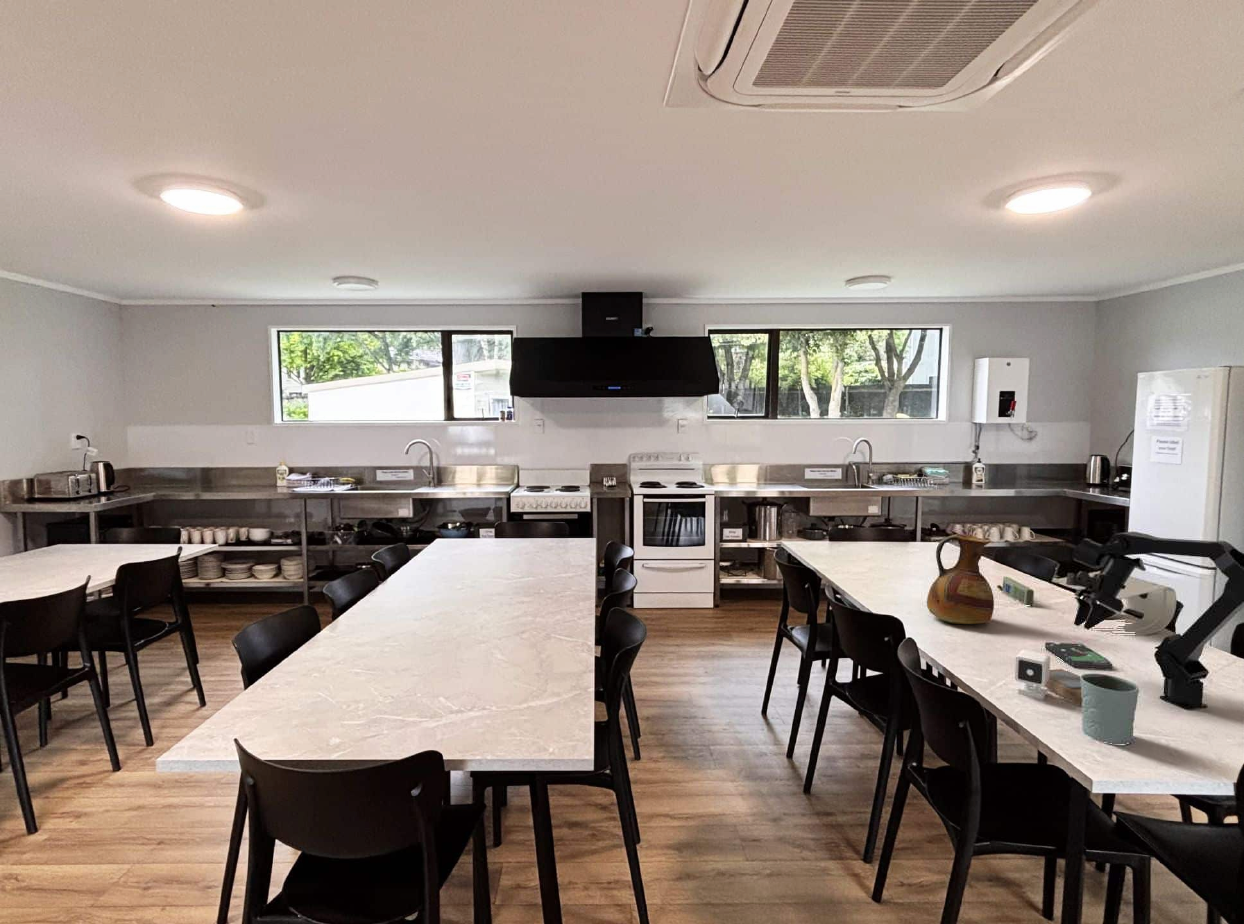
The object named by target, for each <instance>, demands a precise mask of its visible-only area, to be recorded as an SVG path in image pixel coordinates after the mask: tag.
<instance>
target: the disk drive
mask: <svg viewBox="0 0 1244 924" xmlns="http://www.w3.org/2000/svg"><path fill="white" fill-rule="evenodd" d="M1045 648H1046V651H1047V650H1048V651H1049V652H1048V651H1047V652H1048V653H1050V652H1051V653H1052V654H1051V653H1050V654H1051V655H1053V654H1054V655H1055V657H1056V656H1057V657H1059V658H1060V659H1062V660H1063V661H1064V662H1063V661H1062V660H1061V661H1062V662H1063V663H1064V664H1066V663H1067V664H1068V665H1067V664H1066V665H1067V666H1069V665H1070V666H1069V667H1071V666H1072V667H1074V668H1073V669H1086V668H1094V669H1093V670H1106V669H1108V670H1109V669H1110V671H1113V663H1111V660H1110V659H1108V658H1106V657H1105V656H1102V655H1101V654H1099V653H1098V652H1096V651H1094V650H1093V649H1091V648H1089V647H1088V646H1086V645H1084V644H1083V643H1070V642H1069V643H1068V642H1060V643H1055V642H1049V641H1048V642H1047V641H1046V642H1045V643H1044V649H1045ZM1054 655H1053V656H1054ZM1057 657H1056V658H1057ZM1059 658H1058V659H1059ZM1060 659H1059V660H1060ZM1072 667H1071V668H1072Z"/></svg>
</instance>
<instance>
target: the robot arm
mask: <svg viewBox="0 0 1244 924" xmlns="http://www.w3.org/2000/svg"><path fill="white" fill-rule="evenodd" d="M1113 553H1114V554H1113ZM1115 554H1116V555H1115ZM1147 554H1160V555H1171V556H1183V557H1194V558H1195V557H1197V558H1207V559H1208V558H1209V559H1210V560H1211V561H1212V562H1213V563H1214V564H1215V565H1216V567H1217V568H1218V570H1219V571H1220V572H1221V573H1222V574H1223V575H1224V576H1225V577H1226V578H1227V580H1226V582H1225V583H1224V587H1223V591H1222V594H1221V595H1220V596H1219V597H1218V598H1217V599H1216V600H1215V601H1214V602H1213V603H1212V604H1211V605H1210V606H1209V607H1208V609H1206V610H1205V611H1204V612H1203V613H1202V615H1200V616H1199V617H1198V618H1197V619H1196V620H1195V621H1194V622H1193V623H1192V624H1191V626H1190V627H1188V628H1187V630H1185V632H1184V633H1183V634H1180V633H1175V634H1172V635H1169V636H1165V637H1164V638H1163V640H1162V641H1161V643H1160V644H1159V645H1156V646H1155V647H1154V649H1156V651H1154V656H1153V657H1154V659H1155V661H1156V663H1157V665H1158V666H1159V669H1160V671H1161V674H1162V677H1163V695H1159V699H1161V700H1163V701H1166V702H1168V703H1171V704H1173V705H1175V706H1177V707H1180V708H1182V709H1185V710H1192V709H1194V710H1195V709H1203V708H1208V705H1207V703H1204V702H1203V697H1204V681H1201V680H1205V679H1206V678H1207V676H1208V675H1209V673H1210V672H1209V669H1208V668H1206V667H1205V666H1204V664H1203V663H1202V662H1201V661H1200V657H1201V656H1202V654H1203V650H1204V647H1205V645H1206V644H1208V642H1209V641H1210V640H1211V639H1212V638H1214V636H1215V635H1216V634H1217V633H1218V632H1219V631H1221V630H1222V629H1223V628H1224V627H1225V625H1227V624H1228V623H1229V621H1230V620H1232V619H1233V618H1234V617H1235V615H1237V614H1238V613H1239V612H1240V611H1241V610H1242V609H1243V608H1244V552H1242V551H1240V550H1238V549H1237V548H1236V547H1235V546H1233V545H1232V544H1231V543H1229V542H1228V541H1225V540H1217V541H1216V540H1215V541H1212V540H1201V539H1200V540H1198V539H1183V538H1169V537H1168V538H1166V537H1157V536H1154V535H1151V534H1148V533H1144V532H1143V533H1142V532H1137V531H1126V532H1125V531H1124V532H1118V533H1117V532H1116V533H1115V534H1113V535H1112V536H1110V539H1109V541H1107V542H1105V543H1104V544H1102V543H1098V542H1096V541H1094V540H1092V539H1090V538H1086V537H1085V538H1082V539H1081V542H1079V543H1078V544H1077V545H1076V547H1075V548H1074V549H1073V550H1072V553H1071V556H1072V560H1073V561H1075V562H1078V563H1080V564H1083V565H1085V566H1088V567H1090V568H1092V569H1094V570H1095V569H1096V570H1099V569H1100V568H1101V569H1100V570H1099V571H1100V573H1099V574H1094V576H1093V577H1090V576H1089V573H1090V572H1087V571H1081V570H1080V571H1079V572H1077V573H1071V572H1067V576H1066V577H1067V581H1066V584H1067V585H1073V586H1081V587H1085V589H1084V588H1082V589H1078V590H1076V592H1075V593H1074V599H1075V601H1076V603H1077V610H1076V612H1077V614H1076V617H1075V621H1074V623H1073V624H1074V625H1075V626H1077V627H1080V626H1081V624H1082V623H1084V622H1085V621H1086V622H1085V624H1084V627H1083V628H1084V629H1086V630H1091V629H1090V628H1092V627H1094V626H1095V625H1097V624H1099V623H1100V622H1102V621H1104V620H1106V619H1110V618H1109V617H1111V616H1113V615H1116V614H1117V613H1116V612H1121V610H1122V609H1123V607H1124V605H1123V602H1122V601H1121V600H1119V599H1117V598H1116V597H1117V595H1118V593H1119V592H1120V590H1121V589H1125V587H1126V586H1125V585H1124V584H1125V583H1126V581H1127V579H1128V578H1129V576H1131V575H1132V573H1133V572H1134V571H1135V569H1138V570H1140V571H1142V572H1146V570H1147V568H1146V567H1145V565H1144V563H1143V560H1142V558H1140V557H1136V558H1132V557H1130V556H1131V555H1132V556H1133V555H1134V556H1135V555H1147ZM1114 611H1116V612H1114ZM1116 616H1117V615H1116ZM1111 618H1112V617H1111Z"/></svg>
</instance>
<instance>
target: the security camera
mask: <svg viewBox="0 0 1244 924" xmlns="http://www.w3.org/2000/svg"><path fill="white" fill-rule="evenodd" d="M1014 665H1015V666H1014V668H1015V669H1014V679H1015V681H1016V682H1019V683H1020V684H1019V686H1018V688H1017V694H1018V693H1019V694H1018V695H1023V696H1026V695H1028V697H1030V696H1031V697H1030V698H1034V697H1036V698H1035V699H1038V698H1040V699H1039V700H1042V699H1043V700H1044V699H1045V698H1046V696H1047V694H1048V691H1047V688H1045V687H1044V686H1045V684H1046V683H1047V681H1048V679H1049V674H1050V670H1051V668H1050V667H1051V657H1050V655H1049V654H1045V653H1039V652H1035V651H1031V650H1026V649H1022V650H1021V651H1020V652H1019V653H1018V654H1017V656H1016V657H1015V664H1014ZM1020 693H1021V694H1020ZM1046 693H1047V694H1046ZM1045 695H1046V696H1045ZM1044 697H1045V698H1044Z"/></svg>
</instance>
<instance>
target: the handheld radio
mask: <svg viewBox="0 0 1244 924" xmlns="http://www.w3.org/2000/svg"><path fill="white" fill-rule="evenodd" d="M1002 577H1003V578H1002V586H1001V585H1000V584H998V585H997V586H996V588H997V589H999V590H1001V593H1002V592H1003V593H1002V594H1004V593H1005V594H1006V595H1005V594H1004V595H1005V596H1007V595H1008V596H1007V597H1009V596H1010V597H1012V598H1014V599H1015V600H1014V599H1013V600H1014V601H1016V600H1018V601H1019V602H1021V603H1022V604H1021V603H1020V604H1021V605H1023V604H1024V605H1030V606H1032V607H1033V605H1034V597H1035V596H1034V595H1035V591H1034V589H1032V588H1030V587H1028V586H1026V585H1024V584H1022V583H1020V582H1018V581H1016V580H1015V579H1012V578H1011V577H1008V576H1004V575H1003V576H1002ZM1010 597H1009V598H1010ZM1012 598H1011V599H1012ZM1019 602H1018V603H1019ZM1024 605H1023V606H1024Z"/></svg>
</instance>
